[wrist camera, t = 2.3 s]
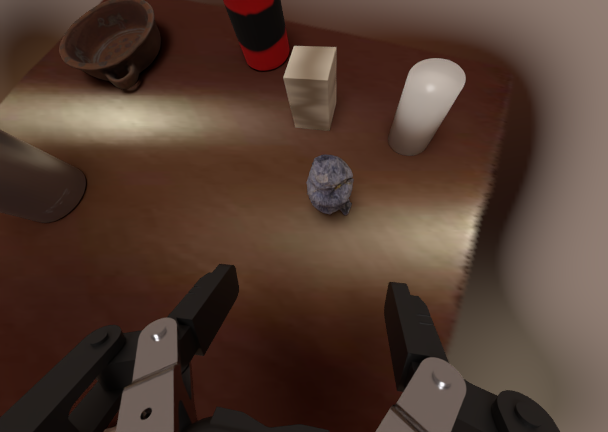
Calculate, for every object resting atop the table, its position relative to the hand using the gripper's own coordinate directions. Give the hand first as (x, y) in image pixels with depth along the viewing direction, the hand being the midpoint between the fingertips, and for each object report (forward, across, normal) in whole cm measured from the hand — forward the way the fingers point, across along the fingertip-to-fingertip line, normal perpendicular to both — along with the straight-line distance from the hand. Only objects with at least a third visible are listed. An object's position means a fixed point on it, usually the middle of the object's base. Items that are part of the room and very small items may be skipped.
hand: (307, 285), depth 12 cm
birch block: (+27, +3, -7) cm, 28 cm away
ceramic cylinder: (+24, -10, -4) cm, 26 cm away
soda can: (+36, +12, -16) cm, 41 cm away
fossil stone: (+17, 0, +3) cm, 18 cm away
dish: (+38, +40, -17) cm, 58 cm away
